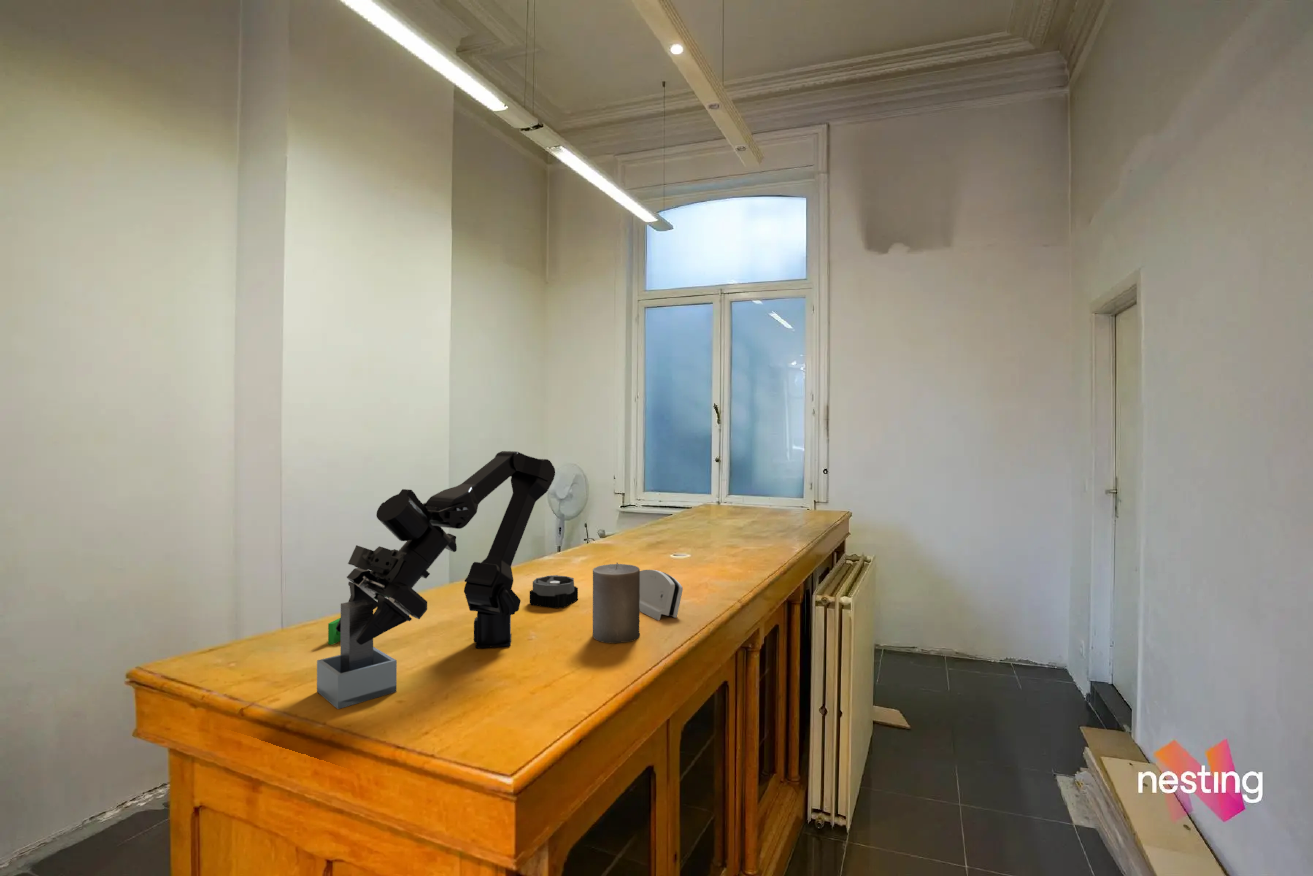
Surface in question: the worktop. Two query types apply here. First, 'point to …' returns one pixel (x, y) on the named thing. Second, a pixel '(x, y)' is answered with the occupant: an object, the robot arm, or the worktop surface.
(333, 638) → the pipe clamp
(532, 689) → the worktop surface
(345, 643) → the dark square pedestal
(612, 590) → the pillar candle
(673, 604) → the napkin holder
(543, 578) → the cpu cooler
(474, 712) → the worktop surface
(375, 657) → the box
